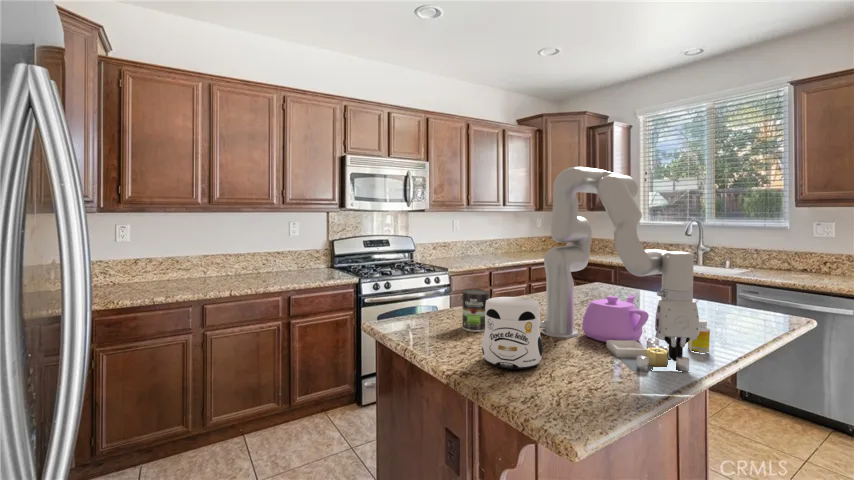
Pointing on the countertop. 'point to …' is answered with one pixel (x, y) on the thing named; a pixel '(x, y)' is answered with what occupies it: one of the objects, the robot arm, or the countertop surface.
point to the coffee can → (474, 309)
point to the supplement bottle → (701, 339)
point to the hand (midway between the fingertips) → (675, 359)
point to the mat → (632, 363)
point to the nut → (657, 357)
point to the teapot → (614, 319)
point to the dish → (626, 348)
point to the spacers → (681, 362)
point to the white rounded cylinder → (512, 333)
